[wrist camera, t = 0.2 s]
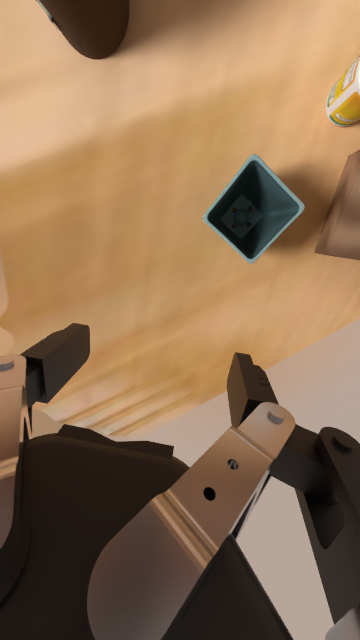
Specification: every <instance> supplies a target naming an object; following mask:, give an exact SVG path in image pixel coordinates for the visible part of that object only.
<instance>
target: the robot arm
mask: <svg viewBox="0 0 360 640" xmlns="http://www.w3.org/2000/svg"><path fill="white" fill-rule="evenodd" d="M89 354H90V330H89V326H88V325H83V324H77V323H72V324H71V325H69V326H68V327H67V328H65V329H64V330H60V331H57V332H54V333H52V334H50V335H49V336H47V337H46V338H45V339H43V340H41V341H40V342H39V343H37V344H35V345H34V346H32V347H31V348H29V349H28V350H26V351H25V352H23V353H22V354H20V355H15V354H11V355H3V356H0V640H293V638H292V636H291V634H290V633H289V631H288V629H287V628H286V626H285V624H284V622H283V621H282V619H281V617H280V616H279V614H278V612H277V610H276V609H275V607H274V605H273V604H272V602H271V600H270V599H269V597H268V595H267V593H266V592H265V590H264V588H263V587H262V585H261V583H260V581H259V580H258V578H257V576H256V575H255V573H254V571H253V570H252V568H251V566H250V564H249V563H248V561H247V559H246V558H245V556H244V554H243V552H242V551H241V549H240V547H239V546H238V544H237V542H236V541H237V539H238V537H239V535H240V533H241V531H242V530H243V528H244V526H245V523H246V522H247V520H248V518H249V516H250V514H251V512H252V510H253V509H254V507H255V505H256V503H257V502H258V500H259V498H260V496H261V495H262V493H263V491H264V489H265V488H266V486H267V484H268V482H269V480H270V479H271V477H272V476H273V477H274V478H276V479H278V480H280V481H282V482H284V483H286V484H288V485H290V486H292V487H294V488H295V491H296V494H297V498H298V501H299V505H300V508H301V511H302V515H303V518H304V522H305V525H306V529H307V532H308V536H309V539H310V542H311V546H312V549H313V553H314V557H315V560H316V563H317V567H318V570H319V574H320V577H321V581H322V584H323V587H324V591H325V595H326V598H327V601H328V605H329V608H330V612H331V615H332V619H333V622H334V626H333V627H332V628H331V629H330V630H329V631H328V632H327V634H326V637H325V640H360V444H359V443H358V442H357V441H356V440H355V439H354V438H352V437H351V436H350V435H349V434H347V433H345V432H343V431H341V430H339V429H337V428H332V427H324V428H322V429H321V430H320V432H319V434H317V433H314V432H312V431H309V430H307V429H305V428H302V427H300V426H298V425H296V423H295V419H294V417H293V416H292V415H291V413H290V412H289V411H287V410H286V409H285V408H283V407H282V406H280V405H279V404H278V402H277V399H276V397H275V395H274V392H273V390H272V387H271V385H270V382H269V381H268V378H267V375H266V373H265V372H264V371H263V370H262V369H261V367H260V366H257V365H254V364H253V362H252V359H251V356H250V355H248V354H243V353H237V352H235V354H234V357H233V360H232V364H231V368H230V371H229V375H228V379H227V392H228V400H229V407H230V415H231V423H232V426H231V427H230V428H229V429H228V430H227V431H226V432H225V433H224V434H223V435H222V436H221V437H220V438H219V439H218V440H217V441H216V442H215V443H214V444H213V445H212V446H211V447H210V448H209V449H208V450H207V451H206V452H205V453H204V454H203V455H202V456H201V457H200V458H199V459H198V460H197V461H196V462H195V463H194V464H193V465H192V466H191V467H188V466H187V465H186V464H185V463H184V462H182V461H181V460H179V459H178V458H176V457H174V456H172V455H173V449H174V446H170V445H164V444H159V443H155V442H150V441H128V442H127V441H126V442H116V441H113V440H111V439H108V438H107V437H104V436H103V435H101V434H99V433H97V432H95V431H93V430H91V429H86V428H81V427H76V426H71V425H66V424H64V425H63V426H62V428H61V429H60V430H59V432H58V433H54V434H47V435H42V436H39V437H35V438H34V434H33V433H34V431H33V429H34V428H33V404H34V403H35V402H36V401H37V402H42V403H47V404H48V402H49V401H50V400H51V399H52V398H53V397H54V396H55V395H56V394H57V393H58V392H59V390H60V389H61V388H62V387H63V386H64V385H65V384H66V383H67V382H68V381H69V380H70V378H71V377H72V376H73V375H74V374H75V373H76V372H77V371H78V370H79V369H80V368H81V367H82V365H83V364H84V363H85V362H86V361H87V359H88V357H89Z"/></svg>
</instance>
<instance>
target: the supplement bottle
mask: <svg viewBox="0 0 360 640" xmlns="http://www.w3.org/2000/svg"><path fill="white" fill-rule="evenodd" d="M326 114H327V117H328V119H329V121H330V122H331V123H333V124H334V125H336V126H340V127H344V126H349V125H351V124H353V123H355V122H357V121H358V120H359V119H360V56H359V57H358V59H357V60H356V61H355V62H354V63H353V64H352V65H351V66H350V68H349V69H348V70H347V71H346V72H345V73H344V74H343V75H342V76H341V78H340V79H339V80H338V81H337V82H336V83H335V85H334V86H333V87H332V89H331V91H330V93H329V95H328V98H327V101H326Z"/></svg>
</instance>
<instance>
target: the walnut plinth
mask: <svg viewBox="0 0 360 640" xmlns="http://www.w3.org/2000/svg"><path fill="white" fill-rule="evenodd" d="M314 253H318V254H323V255H329V256H335V257H342V258H349V259H355V260H360V150H359V151H357V152H355V153H353V154H351V155H349V156H348V159H347V162H346V165H345V167H344V170H343V173H342V176H341V179H340V181H339V184H338V187H337V190H336V193H335V196H334V198H333V201H332V204H331V207H330V210H329V212H328V215H327V218H326V221H325V224H324V226H323V229H322V232H321V235H320V238H319V241H318V243H317V246H316V249H315V252H314Z"/></svg>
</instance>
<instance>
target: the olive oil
mask: <svg viewBox="0 0 360 640" xmlns="http://www.w3.org/2000/svg"><path fill="white" fill-rule="evenodd" d="M36 1H37V2H38V3H39V4H40V6H41V7H42V8H43V9H44V11H45V12H46V13H47V15H48V17H49V19H50V20H51V22H52V23H53V22H54V23H55V25H56V26H57V27H58V29H59V30H60V31H61V32H62V34H63V35H64V36H65V38H66V39H67V40H68V42H69V43H70V44H71V45H72V46H73V47H74V49H76V50H77V51H78V52H79V53H80V54H82V55H84V56H86V57H88V58H92V59H100V58H104V57H106V56H108V55H110V54H111V53H112V52H114V51H115V50H116V48H117V47H118V46H119V45H120V43H121V41H122V39H123V37H124V35H125V32H126V29H127V24H128V18H129V1H128V0H36ZM55 25H54V26H55Z"/></svg>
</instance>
